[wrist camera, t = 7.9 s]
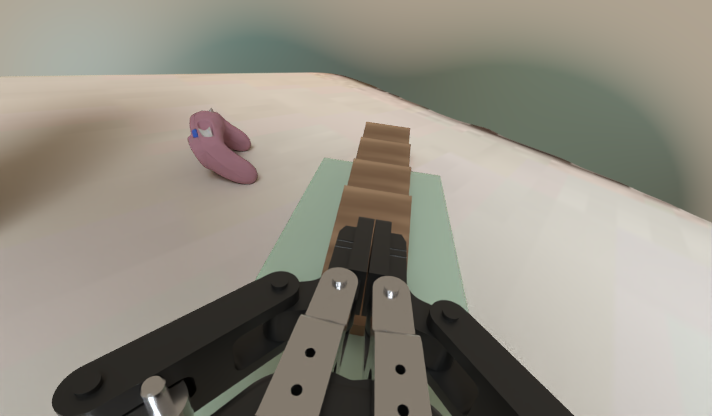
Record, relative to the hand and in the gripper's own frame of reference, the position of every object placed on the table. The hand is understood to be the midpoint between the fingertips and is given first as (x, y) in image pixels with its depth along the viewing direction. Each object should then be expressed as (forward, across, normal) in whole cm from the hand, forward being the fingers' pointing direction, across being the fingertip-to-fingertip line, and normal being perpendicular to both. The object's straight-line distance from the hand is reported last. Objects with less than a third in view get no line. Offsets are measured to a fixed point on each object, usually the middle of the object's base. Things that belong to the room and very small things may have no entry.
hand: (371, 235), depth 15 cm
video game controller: (+18, +17, +8) cm, 26 cm away
